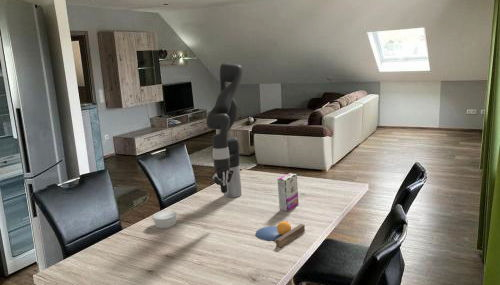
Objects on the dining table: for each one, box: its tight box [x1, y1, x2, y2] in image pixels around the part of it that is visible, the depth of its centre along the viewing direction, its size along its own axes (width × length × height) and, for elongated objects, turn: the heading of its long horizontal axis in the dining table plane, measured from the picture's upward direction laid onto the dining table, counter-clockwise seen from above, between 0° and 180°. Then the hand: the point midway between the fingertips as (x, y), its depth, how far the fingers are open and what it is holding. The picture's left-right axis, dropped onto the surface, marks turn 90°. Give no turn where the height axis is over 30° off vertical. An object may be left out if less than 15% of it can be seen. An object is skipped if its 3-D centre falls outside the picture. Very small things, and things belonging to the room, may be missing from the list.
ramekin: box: [152, 209, 177, 229], centre depth 186 cm, size 11×11×5 cm
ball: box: [277, 220, 292, 235], centre depth 167 cm, size 6×6×6 cm
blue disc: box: [255, 225, 282, 242], centre depth 170 cm, size 14×14×1 cm
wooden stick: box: [275, 223, 306, 249], centre depth 163 cm, size 2×18×3 cm, turn 140°
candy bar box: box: [277, 172, 300, 212], centre depth 197 cm, size 11×5×16 cm, turn 143°
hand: (224, 192), depth 184 cm, fingers closed
